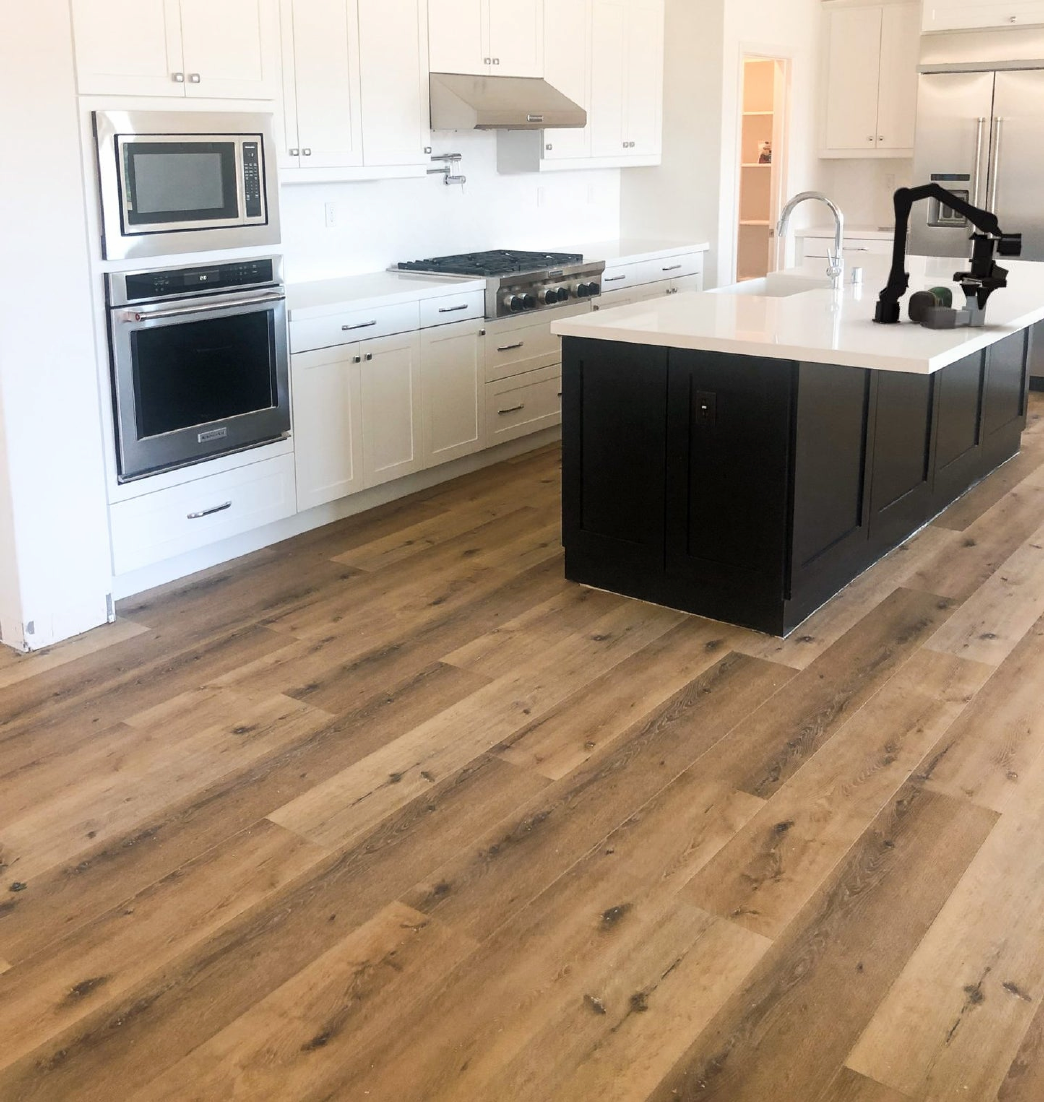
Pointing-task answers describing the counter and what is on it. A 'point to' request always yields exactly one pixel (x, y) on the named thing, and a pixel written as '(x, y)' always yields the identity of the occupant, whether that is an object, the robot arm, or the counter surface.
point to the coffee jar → (928, 301)
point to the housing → (938, 317)
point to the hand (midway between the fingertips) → (975, 308)
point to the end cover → (971, 313)
